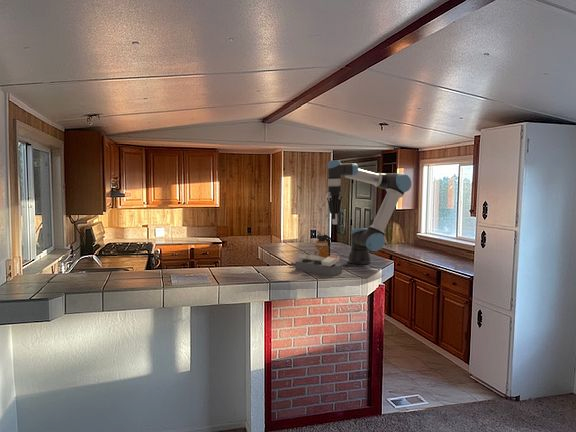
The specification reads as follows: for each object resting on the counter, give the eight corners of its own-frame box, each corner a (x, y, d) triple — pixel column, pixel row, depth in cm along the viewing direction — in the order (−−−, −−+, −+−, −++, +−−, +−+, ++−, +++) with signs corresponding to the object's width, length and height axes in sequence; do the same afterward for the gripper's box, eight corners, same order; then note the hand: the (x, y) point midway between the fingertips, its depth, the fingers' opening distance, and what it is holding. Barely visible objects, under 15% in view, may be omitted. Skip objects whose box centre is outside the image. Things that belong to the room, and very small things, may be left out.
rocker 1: (307, 259, 281) (308, 254, 282) (315, 260, 277) (315, 255, 278) (297, 257, 274) (298, 252, 274) (305, 258, 270) (306, 254, 270)
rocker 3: (331, 258, 270) (330, 254, 269) (339, 260, 266) (339, 255, 265) (321, 265, 263) (321, 260, 262) (330, 266, 259) (329, 262, 258)
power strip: (296, 265, 289) (296, 255, 288) (341, 273, 266) (342, 263, 265) (285, 267, 280) (285, 258, 280) (331, 276, 258) (331, 266, 257)
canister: (312, 264, 291) (312, 234, 289) (326, 263, 296) (327, 233, 294) (318, 267, 283) (319, 235, 281) (333, 265, 288) (334, 235, 286)
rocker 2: (318, 261, 275) (319, 256, 276) (326, 262, 271) (327, 258, 272) (309, 258, 268) (310, 254, 268) (317, 260, 264) (318, 255, 264)
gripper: (335, 185, 278) (335, 222, 281) (323, 186, 268) (323, 224, 271) (345, 185, 273) (345, 223, 276) (333, 186, 263) (333, 225, 266)
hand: (334, 224), depth 273 cm, fingers closed
